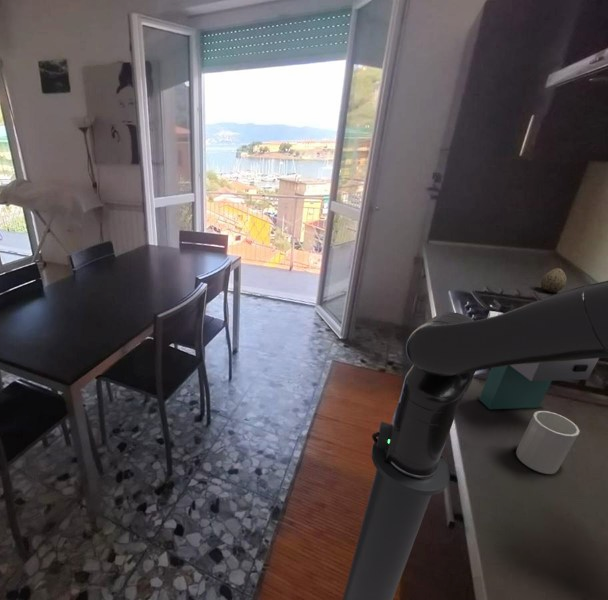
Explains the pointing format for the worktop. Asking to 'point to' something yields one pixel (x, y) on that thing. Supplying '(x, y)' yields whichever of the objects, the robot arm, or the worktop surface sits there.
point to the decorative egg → (553, 280)
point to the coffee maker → (530, 382)
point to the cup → (547, 442)
